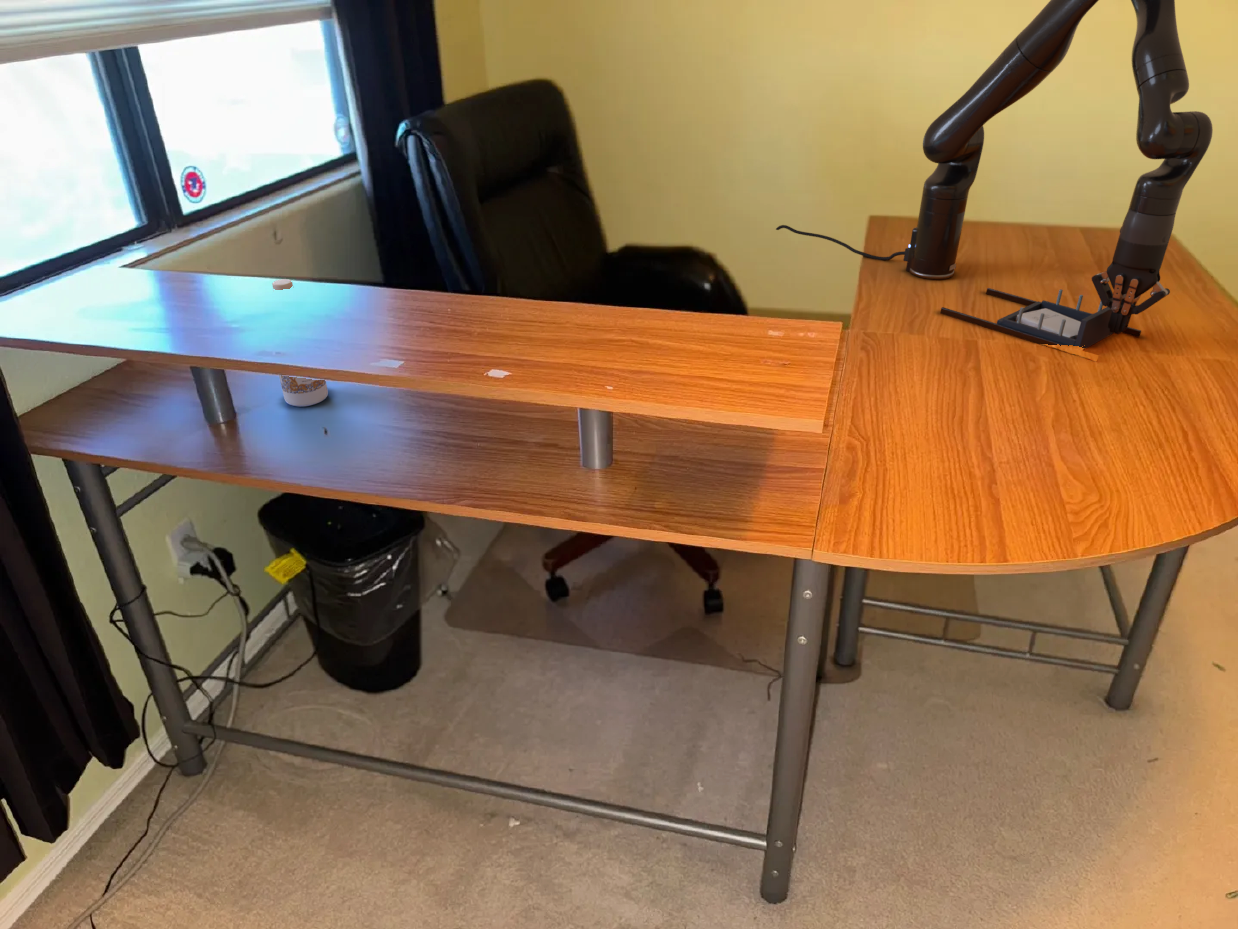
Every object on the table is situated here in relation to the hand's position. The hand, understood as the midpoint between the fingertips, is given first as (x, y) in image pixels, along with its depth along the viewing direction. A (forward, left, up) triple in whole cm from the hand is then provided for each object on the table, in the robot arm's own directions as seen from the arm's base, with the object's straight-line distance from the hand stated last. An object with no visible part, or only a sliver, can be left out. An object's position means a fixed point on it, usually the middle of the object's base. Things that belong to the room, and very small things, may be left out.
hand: (1115, 331), depth 159 cm
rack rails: (-14, 0, -3) cm, 14 cm away
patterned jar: (-77, -120, -3) cm, 143 cm away
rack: (-10, 0, -3) cm, 11 cm away
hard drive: (-10, 0, -3) cm, 11 cm away
